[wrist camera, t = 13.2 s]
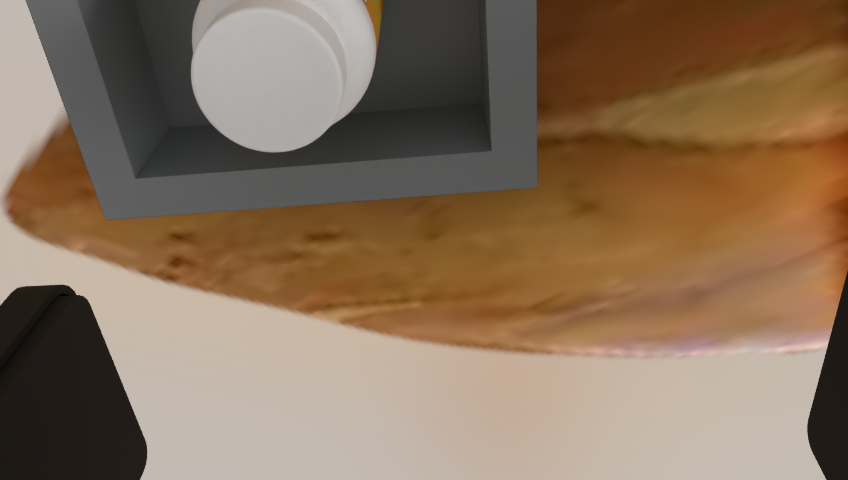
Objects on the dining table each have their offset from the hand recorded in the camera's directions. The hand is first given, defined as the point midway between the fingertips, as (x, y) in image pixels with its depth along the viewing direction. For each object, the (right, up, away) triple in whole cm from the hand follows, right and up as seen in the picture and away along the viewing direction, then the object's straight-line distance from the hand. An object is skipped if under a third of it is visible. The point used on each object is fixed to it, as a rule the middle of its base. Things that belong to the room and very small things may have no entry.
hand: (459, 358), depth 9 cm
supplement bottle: (-5, +11, +18) cm, 22 cm away
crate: (-5, +11, +19) cm, 23 cm away
